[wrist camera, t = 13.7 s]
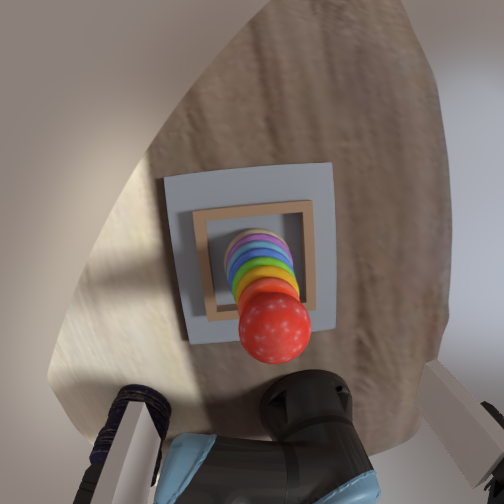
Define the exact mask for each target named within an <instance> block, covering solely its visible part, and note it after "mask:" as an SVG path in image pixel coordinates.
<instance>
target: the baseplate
mask: <svg viewBox="0 0 504 504" xmlns="http://www.w3.org/2000/svg"><path fill="white" fill-rule="evenodd" d="M164 185H165V194H166V203H167V211H168V219H169V227H170V234H171V241H172V248H173V254H174V261H175V267H176V273H177V279H178V285H179V290H180V296H181V301H182V306H183V312H184V317H185V322H186V327H187V331H188V336H189V341H190V344H202V343H216V342H229V341H240V338H239V332H238V326H239V319H240V317H239V314H238V307H237V304H236V303H235V301H234V298H233V295H232V293H231V290H230V287H229V284H228V281H227V275H226V273H225V269H224V254H225V251H226V249H227V247H228V245H229V243H230V242H231V241H232V240H233V238H234V237H236V236H237V235H238V234H240V233H241V232H243V231H246V230H249V229H254V228H263V229H268V230H270V231H273V232H275V233H276V234H278V235H279V236H280V237H281V238H282V239H283V240H284V241H285V242H286V244H287V246H288V248H289V251H290V253H291V256H292V260H293V270H294V274H295V278H296V282H297V284H298V287H299V299H300V302H301V303H302V304H303V306H304V307H305V308H306V310H307V312H308V314H309V317H310V320H311V332H315V331H322V330H328V329H334V328H335V324H336V224H335V201H334V184H333V170H332V163H306V164H287V165H272V166H258V167H247V168H236V169H226V170H216V171H208V172H199V173H191V174H184V175H177V176H170V177H164Z"/></svg>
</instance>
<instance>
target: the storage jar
mask: <svg viewBox="0 0 504 504" xmlns="http://www.w3.org/2000/svg"><path fill="white" fill-rule="evenodd" d="M129 401H131V402H145V404H146V407H147V409H148V412H149V414H150V416H151V419H152V421H153V423H154V426H155V428H156V430H157V432H158V435H159V437H160V439H161V442H160V446H159V451H158V455H157V459H156V464H155V468H154V473H153V477H152V482H151V486H150V487H152V486H154V485H155V483H156V479H157V474H158V471H159V468H160V461H161V459H162V451H161V448H162V443H163V440H164V439H165V437H166V434H167V430H168V427H169V419H170V415H171V406H170V404H169V402H168V401H167V399H166V398H165V397H164V396H163V395H162V394H161V393H159V392H158V391H156V390H154V389H152V388H150V387H147V386H144V385H138V384H131V385H127V386H124V387H123V388H121V389H120V391H119V393H118V395H117V397H116V399H115V400H114V401H113V403H112V406H111V408H110V411H109V414H108V420H107V422H106V424H105V426H104V427H103V428H102V429H101V430H100V432H99V434H98V437H97V439H96V441H95V443H94V447H93V450H92V452H91V454H90V457H89V459H90V463H91V464H93V463H99V464H105V461H106V459H107V456H108V453H109V451H110V448H111V446H112V443H113V441H114V438H115V435H116V433H117V430H118V428H119V425H120V423H121V420H122V418H123V416H124V413H125V411H126V408H127V406H128V403H129Z"/></svg>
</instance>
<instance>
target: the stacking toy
mask: <svg viewBox="0 0 504 504" xmlns="http://www.w3.org/2000/svg"><path fill="white" fill-rule="evenodd" d="M224 269H225V273H226V275H227V281H228V284H229V287H230V290H231V293H232V295H233V298H234V301H235V303H236V304H237V307H238V314H239V317H240V319H239V326H238V332H239V338H240V341H241V343H242V345H243V347H244V348H245V350H246V351H247V353H248V354H250V355H251V356H252V357H253V358H255V359H257V360H259V361H261V362H264V363H268V364H281V363H285V362H288V361H290V360H292V359H294V358H295V357H297V356H298V355H299V354H300V353H301V352H302V351H303V350H304V349H305V347H306V346H307V344H308V341H309V339H310V336H311V320H310V317H309V314H308V312H307V310H306V308H305V307H304V306H303V304H302V303H301V302H300V299H299V287H298V284H297V282H296V278H295V274H294V270H293V260H292V256H291V253H290V251H289V248H288V246H287V244H286V242H285V241H284V240H283V239H282V238H281V237H280V236H279V235H278V234H276V233H275V232H273V231H270V230H268V229H263V228H254V229H249V230H246V231H243V232H241V233H240V234H238V235H237V236H236V237H234V238H233V240H232V241H231V242H230V243H229V245H228V247H227V249H226V251H225V254H224Z"/></svg>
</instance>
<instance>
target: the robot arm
mask: <svg viewBox="0 0 504 504" xmlns="http://www.w3.org/2000/svg"><path fill="white" fill-rule="evenodd" d="M414 404H415V406H416V407H417V408H418V410H419V411H420V413H421V414H422V415H423V417H424V418H425V420H426V421H427V422H428V423H429V425H430V427H431V428H432V429H433V431H434V432H435V434H436V435H437V436H438V438H439V439H440V441H441V442H442V444H443V445H444V447H445V448H446V450H447V451H448V452H449V454H450V455H451V457H452V458H453V460H454V461H455V463H456V464H457V466H458V467H459V469H460V470H461V472H462V473H463V474H464V476H465V478H466V479H467V481H468V482H469V484H470V485H471V487H472V488H475V487H477V486H478V485H480V484H481V483H483V482H484V481H486V479H487V478H488V477H489V476H490V475H491V473H492V474H493V476H494V477H493V478H492V479H491V480H490V482H489V483H488V484H487V485H486V486H485V488H484V490H485V491H486V489H487V488H488V487H489V486H490V485H491V486H490V489H489V491H490V492H489V497H488V503H487V504H504V417H503V416H502V414H501V413H500V414H499V411H498V410H497V409H496V408H495V407H494V406H493V405H491V404H489V403H487V402H485V401H484V402H482V403H479V402H478V401H477V400H476V399H475V398H474V397H473V396H472V395H471V393H470V392H469V391H468V390H467V389H466V388H465V387H464V386H463V385H462V384H461V383H460V382H459V381H458V380H457V379H456V378H455V377H454V376H453V375H452V374H451V373H450V372H449V371H448V370H447V369H446V368H445V367H444V366H443V365H442V364H441V363H440V362H439V361H438V360H437V359H436V360H433V361H430V362H427V363H425V366H424V369H423V373H422V377H421V381H420V384H419V388H418V391H417V394H416V397H415V401H414ZM260 416H261V421H262V424H263V426H264V428H265V430H266V431H267V433H268V434H269V436H270V437H271V439H272V441H261V440H249V439H239V438H230V437H222V436H217V435H216V434H212V435H204V434H196V433H181V434H179V435H178V436H176V437H175V438H174V440H173V441H172V443H171V445H170V448H169V450H168V453H167V455H166V458H165V461H164V464H163V467H162V470H161V474H160V477H159V480H158V484H157V488H156V491H155V496H154V503H153V504H376V503H377V501H378V500H379V497H380V493H381V491H380V487H379V484H378V481H377V477H376V471H375V470H374V469H373V467H372V464H371V462H370V460H369V458H368V456H367V454H366V451H365V449H364V447H363V445H362V443H361V441H360V439H359V436H358V434H357V432H356V430H355V428H354V426H353V423H352V396H351V392H350V390H349V388H348V386H347V384H346V383H345V381H344V380H343V379H342V378H341V377H340V376H338V375H337V374H335V373H332V372H329V371H324V370H307V371H302V372H298V373H294V374H292V375H289V376H287V377H285V378H283V379H281V380H279V381H278V382H276V383H275V384H274V385H273V386H271V387H270V388H269V389H268V390H267V392H266V393H265V394H264V396H263V398H262V400H261V403H260ZM160 442H161V439H160V437H159V435H158V432H157V430H156V428H155V426H154V423H153V421H152V419H151V416H150V414H149V412H148V409H147V407H146V404H145V402H131V401H129V403H128V406H127V408H126V411H125V413H124V416H123V418H122V420H121V423H120V425H119V428H118V430H117V433H116V435H115V438H114V441H113V443H112V446H111V448H110V451H109V453H108V456H107V459H106V461H105V464H99V463H93V464H92V465H91V466H90V467H89V468H88V469H87V470H86V471H85V474H84V476H83V479H82V482H81V484H80V486H79V489H78V491H77V494H76V497H75V500H74V502H73V504H147V501H148V496H149V491H150V486H151V482H152V477H153V473H154V468H155V464H156V459H157V455H158V451H159V446H160Z"/></svg>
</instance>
